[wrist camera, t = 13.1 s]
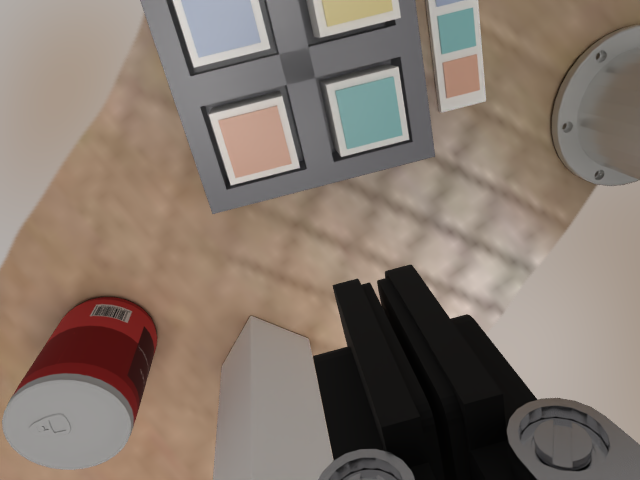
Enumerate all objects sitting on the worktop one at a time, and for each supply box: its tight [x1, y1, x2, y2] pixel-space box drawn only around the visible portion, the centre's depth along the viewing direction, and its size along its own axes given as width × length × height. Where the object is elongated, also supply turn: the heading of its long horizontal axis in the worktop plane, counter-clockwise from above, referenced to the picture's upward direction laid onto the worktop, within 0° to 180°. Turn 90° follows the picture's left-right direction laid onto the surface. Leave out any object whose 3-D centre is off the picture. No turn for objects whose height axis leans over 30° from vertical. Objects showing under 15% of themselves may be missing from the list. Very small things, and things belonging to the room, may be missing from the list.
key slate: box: [173, 0, 270, 68], centre depth 31 cm, size 5×5×4 cm
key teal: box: [320, 64, 409, 157], centre depth 35 cm, size 5×5×4 cm
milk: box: [213, 316, 333, 480], centre depth 35 cm, size 6×6×22 cm
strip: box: [425, 0, 486, 113], centre depth 36 cm, size 4×11×1 cm, turn 13°
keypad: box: [140, 0, 435, 214], centre depth 34 cm, size 17×17×3 cm
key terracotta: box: [209, 91, 300, 185], centre depth 35 cm, size 5×5×4 cm
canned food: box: [2, 297, 157, 470], centre depth 37 cm, size 8×8×11 cm
